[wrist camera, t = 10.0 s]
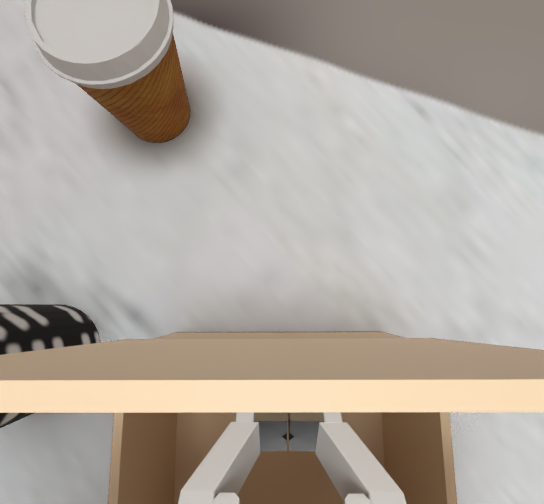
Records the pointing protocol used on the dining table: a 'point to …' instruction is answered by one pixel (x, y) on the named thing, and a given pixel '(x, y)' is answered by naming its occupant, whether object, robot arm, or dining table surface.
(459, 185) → the dining table surface
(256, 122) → the dining table surface
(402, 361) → the carton flap
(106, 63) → the disposable coffee cup
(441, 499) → the carton
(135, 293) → the dining table surface
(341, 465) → the robot arm
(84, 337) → the white-spotted black cylinder
